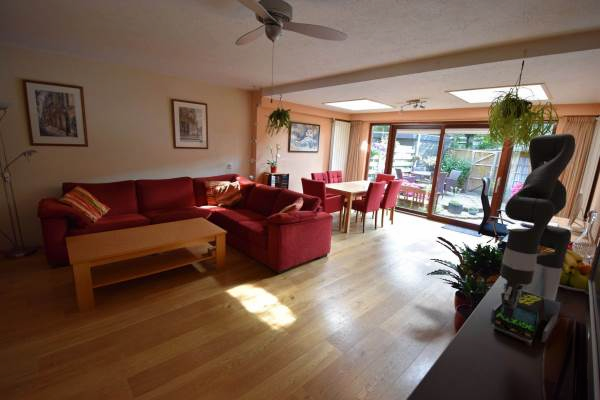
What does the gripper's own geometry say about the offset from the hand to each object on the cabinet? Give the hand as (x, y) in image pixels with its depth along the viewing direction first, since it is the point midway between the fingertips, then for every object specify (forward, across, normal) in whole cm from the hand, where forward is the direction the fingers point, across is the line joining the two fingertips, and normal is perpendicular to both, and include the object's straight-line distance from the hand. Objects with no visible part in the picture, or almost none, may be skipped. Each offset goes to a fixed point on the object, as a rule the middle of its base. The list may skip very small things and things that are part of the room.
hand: (507, 317), depth 82 cm
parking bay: (+11, -25, 0) cm, 27 cm away
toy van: (+12, -19, 0) cm, 23 cm away
